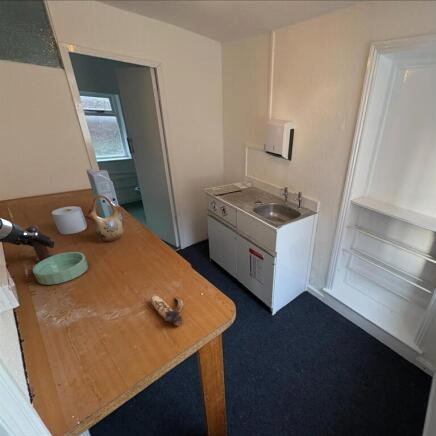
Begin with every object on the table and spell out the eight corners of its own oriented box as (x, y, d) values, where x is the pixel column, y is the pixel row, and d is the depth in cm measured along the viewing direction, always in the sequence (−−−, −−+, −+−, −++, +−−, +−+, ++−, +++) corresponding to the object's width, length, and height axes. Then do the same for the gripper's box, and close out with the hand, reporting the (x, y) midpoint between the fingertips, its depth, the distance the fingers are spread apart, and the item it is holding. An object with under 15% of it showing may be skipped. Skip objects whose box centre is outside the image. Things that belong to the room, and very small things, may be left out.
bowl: (27, 288, 89) (21, 276, 86) (53, 264, 102) (48, 253, 100) (76, 283, 93) (72, 272, 91) (95, 260, 106) (91, 250, 104)
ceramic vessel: (95, 248, 115) (80, 201, 104) (90, 241, 120) (75, 196, 109) (133, 237, 126) (122, 194, 116) (127, 231, 132) (116, 189, 121)
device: (122, 222, 142) (110, 173, 129) (107, 225, 136) (92, 175, 124) (114, 213, 151) (102, 167, 139) (100, 216, 146) (85, 169, 133)
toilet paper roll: (88, 223, 137) (82, 204, 132) (86, 231, 128) (79, 212, 124) (61, 227, 131) (53, 208, 126) (56, 236, 122) (48, 216, 117)
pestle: (34, 264, 101) (17, 229, 94) (42, 258, 106) (27, 223, 98) (49, 263, 102) (34, 228, 95) (56, 256, 107) (42, 223, 100)
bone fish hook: (196, 317, 83) (170, 292, 92) (195, 307, 81) (169, 283, 90) (170, 333, 76) (145, 305, 85) (169, 323, 74) (143, 295, 83)
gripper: (-34, 242, 80) (21, 255, 101) (27, 238, 85) (68, 251, 106) (-28, 221, 83) (25, 238, 104) (31, 219, 87) (70, 236, 108)
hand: (46, 245), depth 105 cm, fingers closed on pestle, 4 cm apart
